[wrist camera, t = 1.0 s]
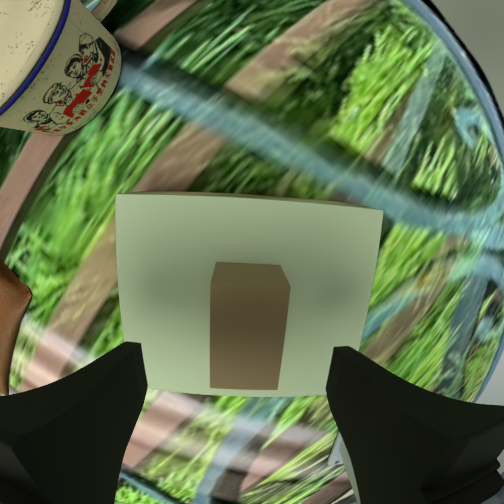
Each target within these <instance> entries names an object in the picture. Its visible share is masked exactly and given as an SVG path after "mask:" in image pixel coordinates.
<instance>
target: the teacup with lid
mask: <svg viewBox="0 0 504 504" xmlns="http://www.w3.org/2000/svg"><path fill="white" fill-rule="evenodd" d="M116 2H117V0H100V2H99V3H98V5H97V6H96V7H95V8H94V9H93V11H92V12H91V13H90V12H89V10H88V9H87V8H86V7H85V6H84V5H83V4H82V3H81V2H80V1H79V0H0V127H5V128H11V129H18V130H24V131H29V132H35V133H40V134H46V135H64V134H67V133H70V132H73V131H75V130H77V129H79V128H80V127H82V126H84V125H85V124H86V123H88V122H89V121H90V120H91V119H93V118H94V117H95V116H96V115H97V114H98V113H99V111H100V110H101V109H102V108H103V107H104V105H105V104H106V103H107V101H108V100H109V98H110V96H111V95H112V93H113V91H114V89H115V86H116V84H117V81H118V78H119V75H120V69H121V52H120V48H119V46H118V43H117V42H116V40H115V39H114V37H113V36H112V35H111V34H110V33H109V32H108V31H107V30H106V29H105V27H104V26H103V25H102V24H101V23H100V22H101V21H102V20H103V19H104V18H105V17H106V16H107V14H108V13H109V12H110V11H111V9H112V8H113V7H114V5H115V4H116Z"/></svg>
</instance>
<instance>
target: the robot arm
mask: <svg viewBox="0 0 504 504" xmlns="http://www.w3.org/2000/svg"><path fill="white" fill-rule="evenodd" d="M147 387H148V383H147V377H146V372H145V366H144V360H143V353H142V346H141V343H138V342H128V341H126V342H124V343H122V344H120V345H119V346H117V347H115V348H114V349H112V350H111V351H109V352H108V353H106V354H104V355H103V356H101V357H100V358H98V359H96V360H95V361H93V362H92V363H90V364H88V365H87V366H85V367H83V368H81V369H79V370H78V371H76V372H74V373H72V374H70V375H68V376H66V377H64V378H62V379H60V380H57V381H55V382H53V383H50V384H48V385H45V386H42V387H38V388H35V389H32V390H29V391H25V392H21V393H17V394H12V395H6V396H0V504H114V502H115V495H116V489H117V484H118V478H119V473H120V469H121V465H122V460H123V457H124V453H125V450H126V448H127V445H128V442H129V440H130V437H131V435H132V432H133V430H134V427H135V425H136V422H137V420H138V417H139V415H140V412H141V410H142V407H143V404H144V400H145V396H146V391H147ZM325 389H326V393H327V398H328V402H329V406H330V409H331V412H332V415H333V417H334V420H335V422H336V424H337V427H338V429H339V432H338V435H337V438H336V441H335V443H334V446H333V448H332V451H331V453H330V456H329V458H328V461H327V463H328V465H337V464H344V466H345V468H346V471H347V474H348V477H349V480H350V483H351V485H352V488H353V491H354V494H355V497H356V500H357V503H358V504H504V472H503V473H502V474H501V475H500V474H499V472H498V471H497V469H498V468H499V467H500V463H499V462H498V460H497V457H498V456H499V455H500V453H501V452H502V451H503V449H504V406H499V405H485V404H476V403H471V402H465V401H460V400H456V399H452V398H449V397H445V396H442V395H439V394H436V393H433V392H430V391H428V390H425V389H423V388H420V387H418V386H416V385H414V384H412V383H409V382H407V381H406V380H404V379H402V378H400V377H398V376H396V375H395V374H393V373H391V372H389V371H388V370H386V369H385V368H383V367H381V366H380V365H378V364H377V363H375V362H374V361H372V360H371V359H369V358H367V357H366V356H364V355H363V354H361V353H360V352H358V351H357V350H355V349H353V348H352V347H350V346H338V347H334V348H333V353H332V358H331V364H330V369H329V373H328V378H327V383H326V388H325Z"/></svg>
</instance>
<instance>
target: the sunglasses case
mask: <svg viewBox="0 0 504 504" xmlns="http://www.w3.org/2000/svg"><path fill="white" fill-rule="evenodd" d="M31 298H32V293H31V290H30V288H29V287H28V286H27V285H26V284H24V283H22V282H21V281H20V280H19V279H18V278H17V277H16V276H15V275H14V273H13V272H12V271H11V270H10V269H9V268H8V267H7V266H6V265H5V264H4V263H3V261H1V259H0V393H2V394H4V395H5V396H6V395H9V389H8V379H9V370H10V364H11V359H12V354H13V350H14V345H15V342H16V337H17V333H18V330H19V327H20V323H21V320H22V318H23V316H24V313H25V310H26V308H27V307H28V306H29V303H30V301H31Z"/></svg>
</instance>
